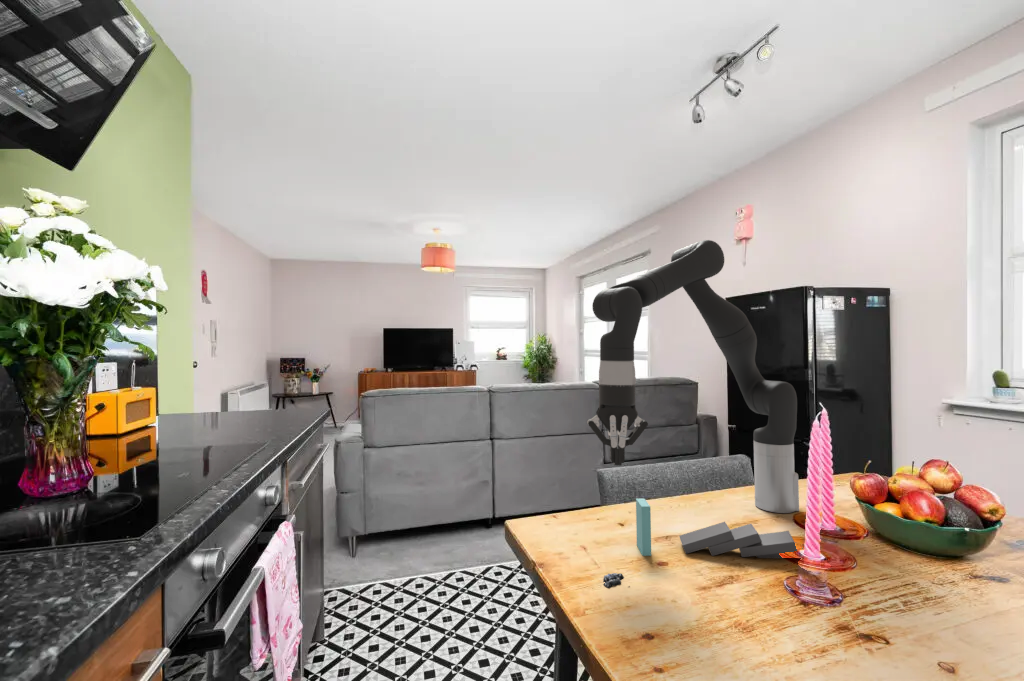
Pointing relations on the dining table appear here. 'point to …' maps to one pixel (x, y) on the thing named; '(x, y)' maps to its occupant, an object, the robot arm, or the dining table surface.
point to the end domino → (643, 526)
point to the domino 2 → (737, 540)
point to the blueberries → (612, 580)
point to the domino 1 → (706, 537)
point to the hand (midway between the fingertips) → (616, 464)
